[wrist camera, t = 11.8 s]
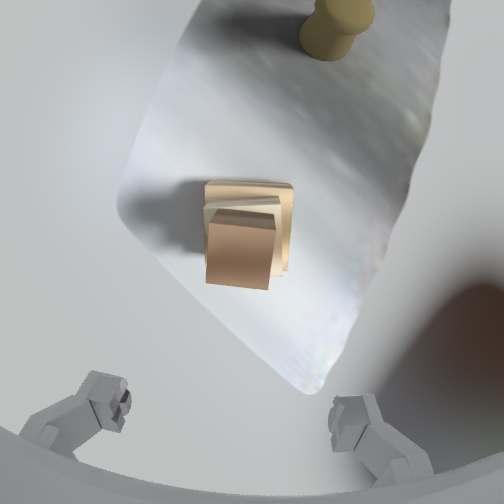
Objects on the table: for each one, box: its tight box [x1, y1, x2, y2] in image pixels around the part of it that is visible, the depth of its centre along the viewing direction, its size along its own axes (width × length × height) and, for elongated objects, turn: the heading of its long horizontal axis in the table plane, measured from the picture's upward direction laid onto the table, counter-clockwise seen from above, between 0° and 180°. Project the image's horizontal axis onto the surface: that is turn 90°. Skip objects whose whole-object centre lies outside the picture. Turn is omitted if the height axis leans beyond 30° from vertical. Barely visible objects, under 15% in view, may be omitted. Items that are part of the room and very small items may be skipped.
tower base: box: [205, 181, 294, 271], centre depth 35 cm, size 9×9×4 cm
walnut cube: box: [206, 208, 276, 290], centre depth 26 cm, size 5×5×5 cm
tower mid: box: [203, 196, 283, 277], centre depth 31 cm, size 7×7×4 cm
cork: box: [299, 0, 375, 61], centre depth 23 cm, size 6×6×11 cm
